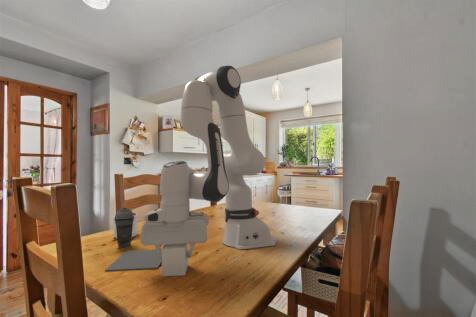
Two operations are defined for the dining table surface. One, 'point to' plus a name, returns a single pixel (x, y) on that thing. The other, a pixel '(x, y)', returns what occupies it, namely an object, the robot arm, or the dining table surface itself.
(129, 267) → the mat
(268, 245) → the robot arm
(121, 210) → the beverage cup
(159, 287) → the dining table surface
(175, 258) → the white upright block
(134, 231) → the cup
